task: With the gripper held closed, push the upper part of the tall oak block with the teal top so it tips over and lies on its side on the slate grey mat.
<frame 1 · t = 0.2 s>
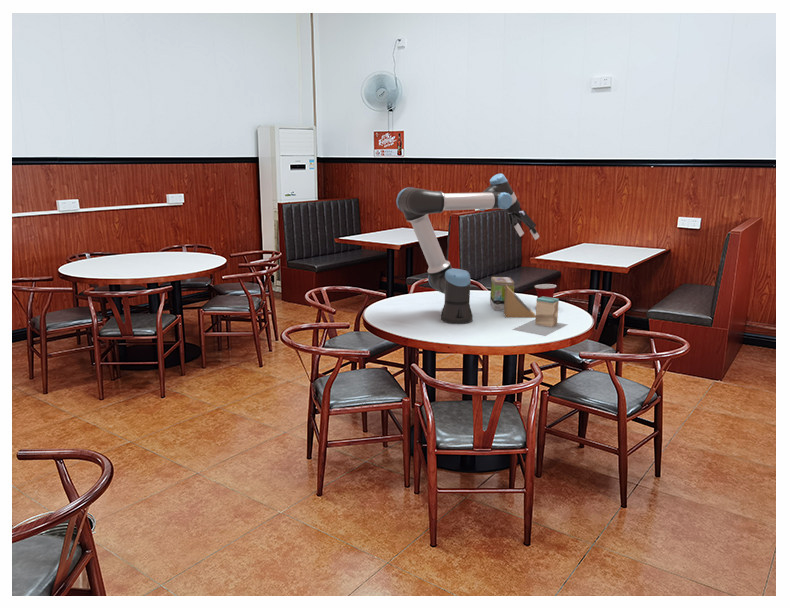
hand: (529, 236, 314), 36 cm above the table, tool tilted 35°, fingers open, 13 cm apart
sandwich container: (520, 316, 300), on the table
plastic cup: (544, 308, 316), on the table
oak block: (546, 324, 284), resting on grey mat
tea box: (501, 307, 318), on the table
grey mat: (540, 327, 279), on the table
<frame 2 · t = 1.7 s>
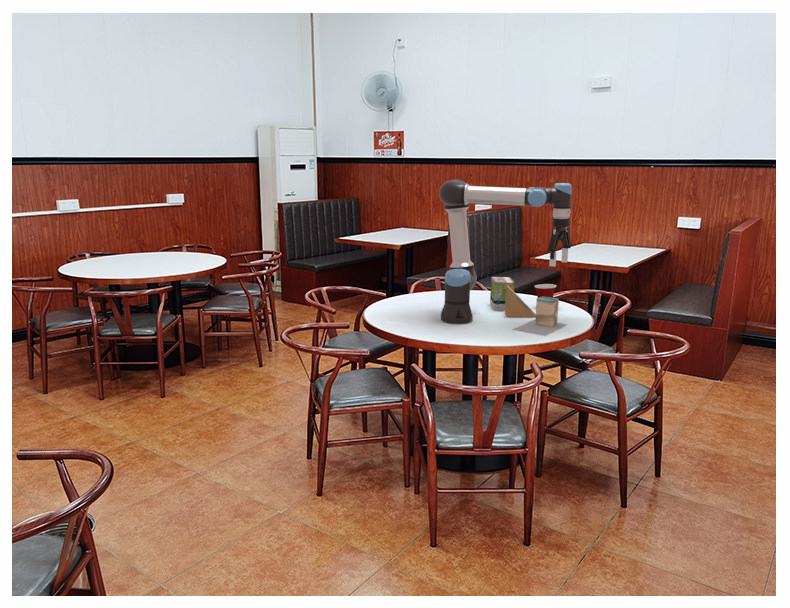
hand: (558, 264, 286), 27 cm above the table, tool pointing down, fingers open, 13 cm apart
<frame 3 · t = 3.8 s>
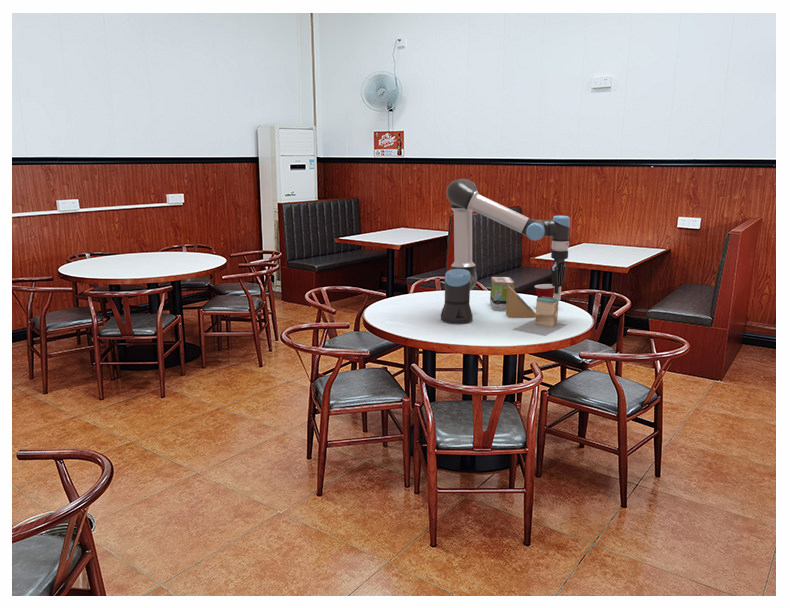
hand: (556, 300, 289), 10 cm above the table, tool pointing down, fingers closed
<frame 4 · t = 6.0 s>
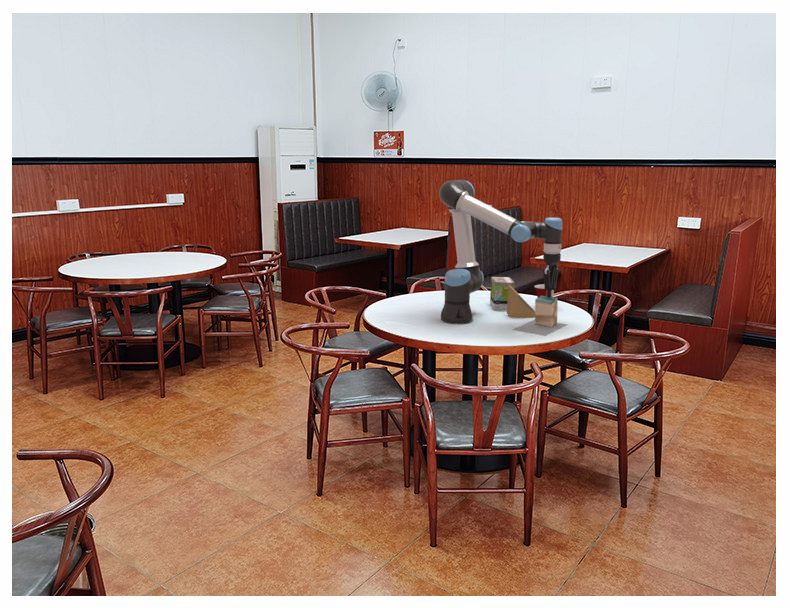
hand: (549, 303, 284), 10 cm above the table, tool pointing down, fingers closed
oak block: (546, 323, 284), point 1 cm above the table, tilted 7°, touching grey mat, gripper
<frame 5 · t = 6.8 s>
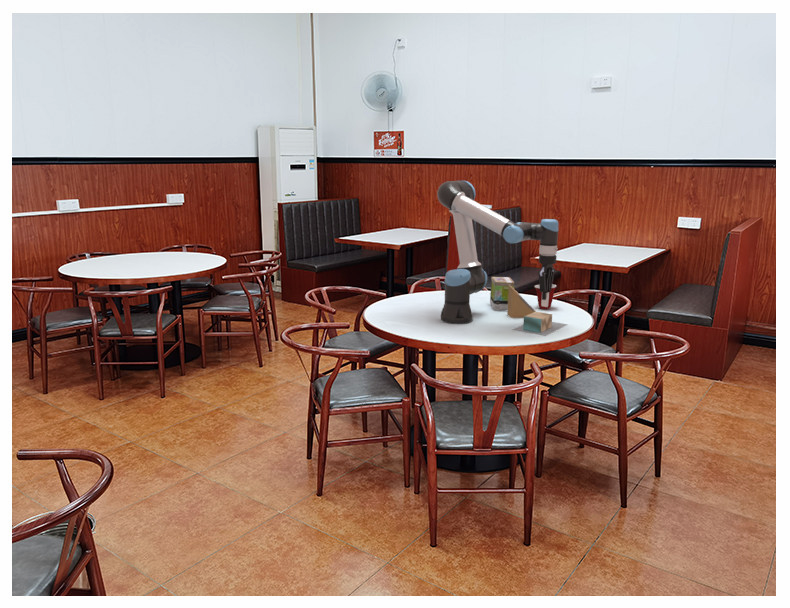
hand: (544, 306, 280), 9 cm above the table, tool pointing down, fingers closed
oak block: (543, 319, 281), point 3 cm above the table, tilted 90°, touching grey mat
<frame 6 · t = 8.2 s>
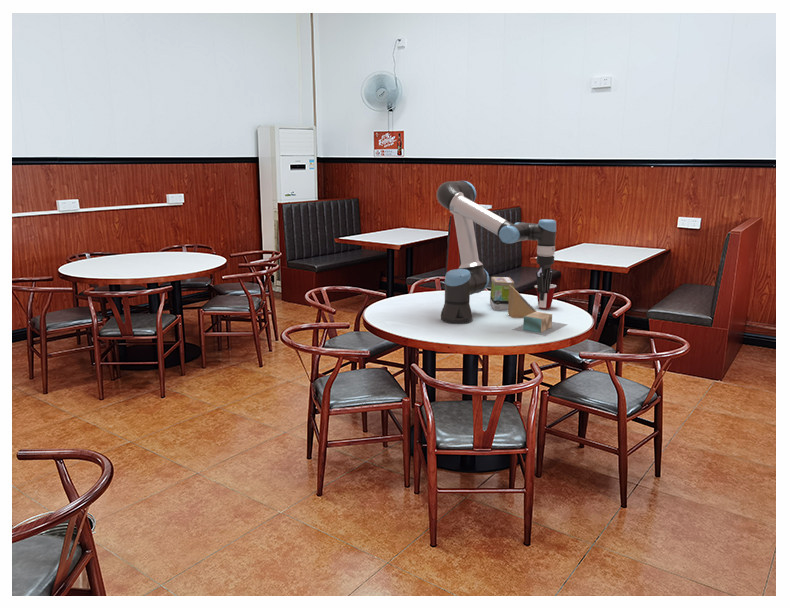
hand: (542, 307, 278), 9 cm above the table, tool pointing down, fingers closed
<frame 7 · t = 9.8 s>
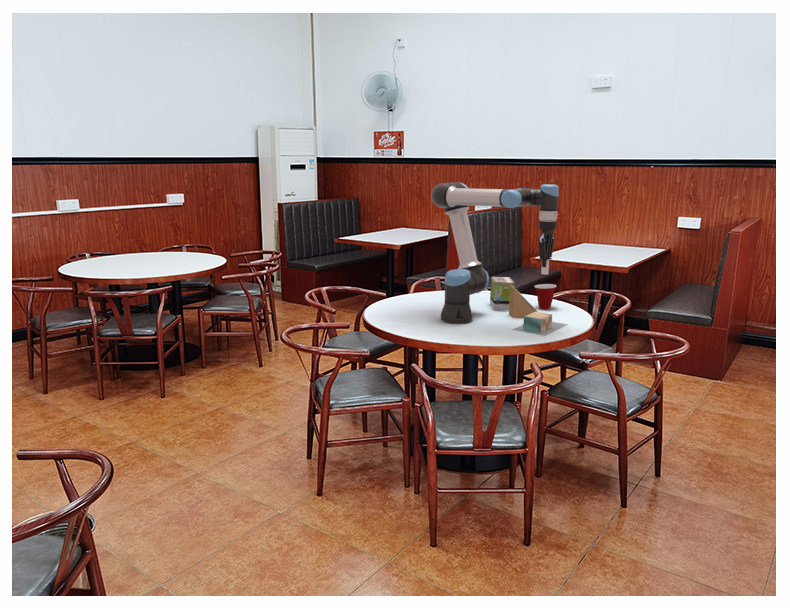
hand: (544, 274, 275), 24 cm above the table, tool pointing down, fingers closed
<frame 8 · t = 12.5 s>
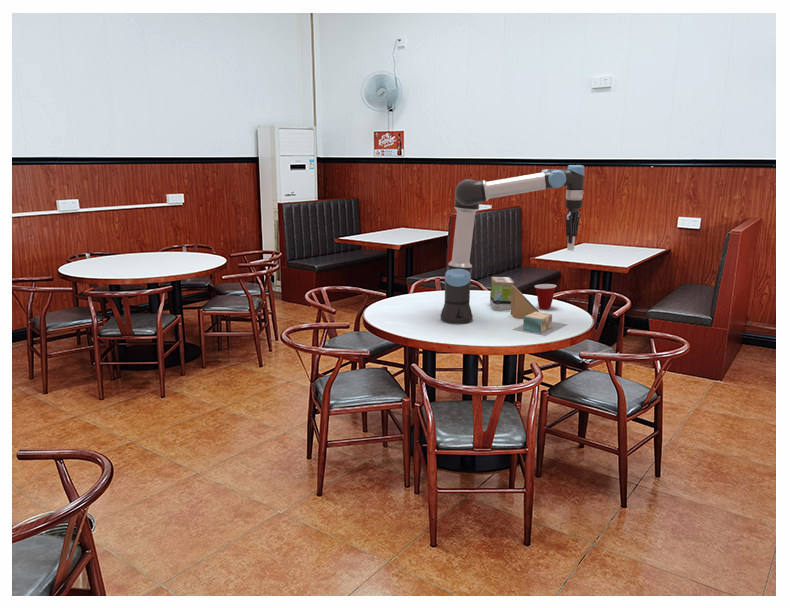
hand: (570, 250, 291), 32 cm above the table, tool pointing down, fingers closed
at the end: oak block tilted 90°; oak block inside the target area (0.4 cm from its centre), point 3.4 cm above the table; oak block touching grey mat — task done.
